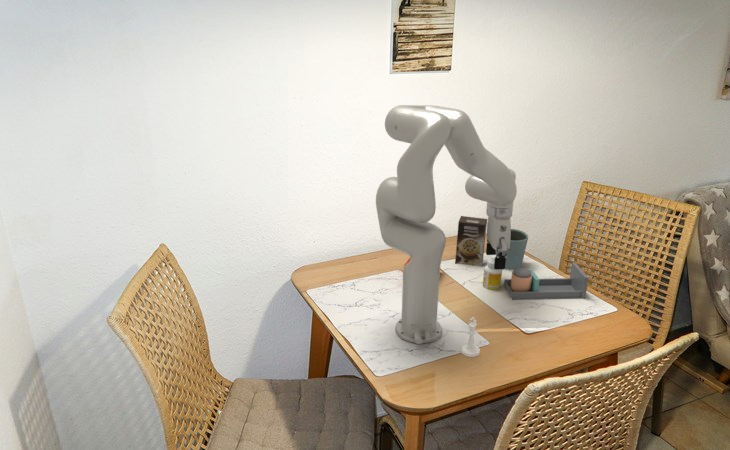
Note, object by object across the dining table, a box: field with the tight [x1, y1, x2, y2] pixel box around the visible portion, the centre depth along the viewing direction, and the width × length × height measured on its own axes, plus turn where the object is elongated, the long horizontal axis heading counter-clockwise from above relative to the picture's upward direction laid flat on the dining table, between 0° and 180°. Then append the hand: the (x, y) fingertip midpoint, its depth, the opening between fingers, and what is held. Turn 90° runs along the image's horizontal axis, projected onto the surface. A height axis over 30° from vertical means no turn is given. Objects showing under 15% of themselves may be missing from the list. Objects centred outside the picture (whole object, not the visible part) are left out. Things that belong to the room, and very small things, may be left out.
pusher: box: [528, 268, 541, 292], centre depth 169 cm, size 7×1×6 cm, turn 3°
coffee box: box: [454, 215, 488, 267], centre depth 188 cm, size 9×6×16 cm
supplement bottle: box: [482, 257, 503, 291], centre depth 172 cm, size 5×5×10 cm
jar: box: [510, 266, 532, 292], centre depth 169 cm, size 6×6×7 cm
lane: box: [503, 262, 590, 301], centre depth 170 cm, size 10×22×8 cm, turn 93°
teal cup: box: [497, 228, 529, 271], centre depth 186 cm, size 10×10×12 cm
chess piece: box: [460, 316, 481, 358], centre depth 141 cm, size 5×5×10 cm
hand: (495, 261), depth 171 cm, fingers open, 9 cm apart
